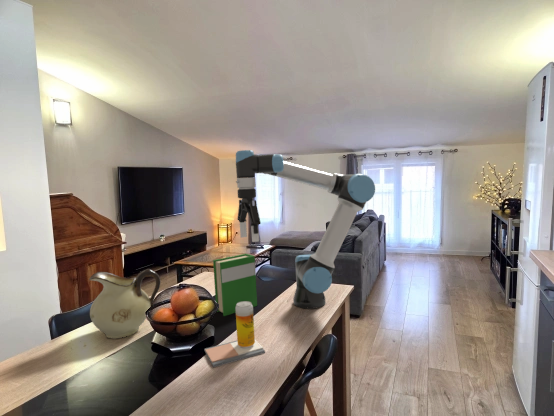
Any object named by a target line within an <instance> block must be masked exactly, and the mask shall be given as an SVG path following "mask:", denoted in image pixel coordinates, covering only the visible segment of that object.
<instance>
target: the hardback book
mask: <svg viewBox="0 0 554 416" xmlns="http://www.w3.org/2000/svg"><path fill="white" fill-rule="evenodd" d="M255 257H256V256H255V255H253V254H249V253H242V254H238V255H232V256H228V257H224V258H218V259H213V260H212V264H213V279H214V280H213V281H214V293H215V297H214V298H215V303H216V302H217V303H218V304H219V308H218V311H217V312H216V313H219V312H221V313H222V316H223V317H227V316H229V315H232V314H236V304H237V303H239V302H242V301H249V302H251V303H252V305H253V308H255V307H257V306H258V295H257V294H258V293H257V277H256V276H257V275H256V258H255Z"/></svg>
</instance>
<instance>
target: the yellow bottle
mask: <svg viewBox="0 0 554 416" xmlns="http://www.w3.org/2000/svg"><path fill="white" fill-rule="evenodd" d="M235 318H236V319H235V321H236V323H235V324H236V338H237V339H236V341H237V342H238V345H239V347H241V348H250V347H252V346H253V344H254V343H255V339H256V338H255V337H256V336H255V323H254V322H255V320H254V307H253V305H252V303H251V302H249V301H242V302H239V303H237V304H236V313H235Z"/></svg>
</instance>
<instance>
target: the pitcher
mask: <svg viewBox="0 0 554 416" xmlns="http://www.w3.org/2000/svg"><path fill="white" fill-rule="evenodd" d="M146 277H152V278H153V279H154V281H155V287H154V290H153V291H152V293H151V295H150V296H149V294H148V293H147V292H146V291H145V290H143V289H142V288H141V287H142V282H143V279H145V278H146ZM88 280H89V281H94V282H98V283H100V284H101V285H102V286H103V288H102V291H100V293H99V294H98V295H97V297H96V298H94V300H93V302H92V304H91V306H90V309H89V317H90V320H91V322H92V324H93V325H94V326H95V327H96V328H97V329H98V330H99V331H100V332H102V333H104V334H105V337H106V338H108V337H109V339H122V337H123V338H126V336H127V337H130V336H131V335H134V334H135V333H137V332H138V331H139V330H140V327H141V326H142V324H143V323H144V322H146V321H145V320H147V318H146V316H145V312H146V311H147V310H148V309H149V308H150V307H151V305H152V303H153V304H154V301H155V297H156V295H157V294H158V292H159V290H160V287H161V278H160V275H159V274H158V273H157V272H156V271H154V270H152V269H150V268H147V269H145V270H143V271H142V270H141V272H139V273H138V274H137V275H136V277H135V276H134V277H131V278H129V277H128V278H126V277H122V276H119V275H117V274H116V275H115V274H114V273H111V272H107V271H97V272H96V273H94V274H92V275H91V276H90V277H89V279H88ZM129 335H130V336H129Z"/></svg>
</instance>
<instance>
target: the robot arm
mask: <svg viewBox="0 0 554 416" xmlns="http://www.w3.org/2000/svg"><path fill="white" fill-rule="evenodd" d="M235 169H236V181H235V183H236V185H237V198H238V199H239V200H238V211H237V221H238V222H239V233H240V238H247V237H248V233H247V232H248V231H247V219H246V218H247V215H248V217H249V220H250V228H251V229H250V230H251V242H252V243H256V242H257V243H258V242H260V235H259V234H260V233H259V232H260V231H259V225H261V224H262V223H261V218H260V214H259V210H258V206H257V205H258V204H257V200H253V199H254V198H256V197H257V189H256V187H257V186H256V185H257V181H256V177H255V176H256V174H264V175H268V176H274V177H278V178H281V179H284V180H289V181H292V182H296V183H300V184H303V185H308V186H311V187H315V188H319V189H322V190H325V191H327V193H329V194H333V195H335V196H338V197H337V200H338V201H337V202H338V205H337V206H336V209H335V211H334V213H333V215H332V218H331V219H330V221H329V224H328V225H327V228H326V230H325V232H324V234H323V236H322V238H321V240H320V243H319V245H318V246H317V249H316V250H315V252H314V253H312V254H311V253H310V254H299V255H296V257H295V261H294V264H295V280H296V281H295V282H296V283H295V284H296V286H295V287H296V289H295V292H294V294H293V305H294V306H295V307H297V308H301V309H308V310H309V309H317V308H321V307H323V306H325V304H327V303H326V296H325V292H326V291H328V289H330V287H331V285H332V283H333V278H332V277H333V276H332V274H333V272H334V270H335V268H336V267H335V263H334V262H335V260H336V259H337V255H338V253H339V251H340V249H341V247H342V245H343V242H344V240H345V239H346V237H347V235H348V232H349V230H350V228H351V226H352V225H353V222H354V220H355V218H356V216H357V214H358V212H360V211H363V210H364V208H365V206H366V203H367V202H369V201H370V200H371V199H373V197H374V195H375V194H376V193H375V192H376V185H375V181H374V180H373V179H372V178H371V177H370V176H368V175H366V174H363V173H355V174H341V173H337V172H333V173H328V172H326V171H320V170H317V169H314V168H310V167H307V166H303V165H299V164H294V163H291V162H288V161H284V157H283V155H282V154H280V153H277V154H275V153H270V154H259V155H258V154H255V152H254V151H253V150H251V149H250V150H249V149H245V150H243V149H242V150H241V149H240V150H237V151H236V152H235Z"/></svg>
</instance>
